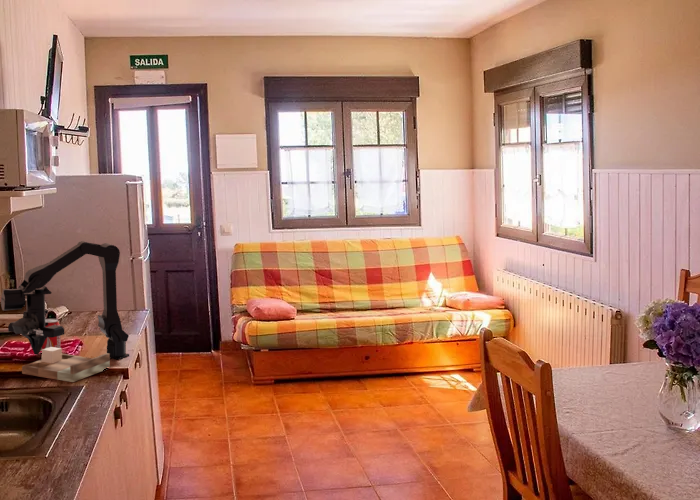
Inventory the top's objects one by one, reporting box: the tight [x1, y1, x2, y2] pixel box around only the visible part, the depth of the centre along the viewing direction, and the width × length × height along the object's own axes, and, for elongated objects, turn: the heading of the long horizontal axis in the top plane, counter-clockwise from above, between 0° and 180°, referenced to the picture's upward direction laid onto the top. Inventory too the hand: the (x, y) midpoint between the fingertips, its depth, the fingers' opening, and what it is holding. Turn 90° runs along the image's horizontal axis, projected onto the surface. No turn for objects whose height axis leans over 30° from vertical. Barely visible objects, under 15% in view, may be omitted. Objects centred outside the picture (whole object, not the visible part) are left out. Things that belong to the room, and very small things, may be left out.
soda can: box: [40, 318, 61, 351], centre depth 282 cm, size 7×7×12 cm
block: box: [41, 347, 63, 363], centre depth 265 cm, size 4×4×4 cm
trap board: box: [21, 352, 111, 383], centre depth 263 cm, size 18×20×5 cm
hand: (36, 354), depth 267 cm, fingers closed
